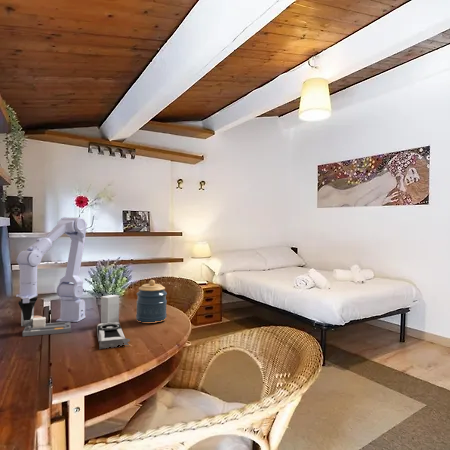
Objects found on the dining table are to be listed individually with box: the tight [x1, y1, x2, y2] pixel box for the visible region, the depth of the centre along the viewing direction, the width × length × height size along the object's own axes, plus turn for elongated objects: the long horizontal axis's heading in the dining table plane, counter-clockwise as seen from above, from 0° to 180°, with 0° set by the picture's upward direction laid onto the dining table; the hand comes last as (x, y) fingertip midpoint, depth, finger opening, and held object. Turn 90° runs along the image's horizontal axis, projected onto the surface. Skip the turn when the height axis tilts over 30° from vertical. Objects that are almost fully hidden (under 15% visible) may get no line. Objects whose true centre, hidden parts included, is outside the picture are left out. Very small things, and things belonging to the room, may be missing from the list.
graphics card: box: [96, 321, 131, 350], centre depth 132 cm, size 10×3×25 cm
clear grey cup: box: [20, 306, 35, 327], centre depth 136 cm, size 4×4×8 cm
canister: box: [135, 279, 168, 322], centre depth 157 cm, size 13×13×18 cm
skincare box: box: [100, 294, 120, 324], centre depth 148 cm, size 6×4×12 cm
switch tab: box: [33, 316, 47, 328], centre depth 138 cm, size 4×4×3 cm
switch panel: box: [22, 321, 72, 337], centre depth 139 cm, size 16×9×2 cm, turn 113°
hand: (27, 318), depth 136 cm, fingers closed on clear grey cup, 4 cm apart
